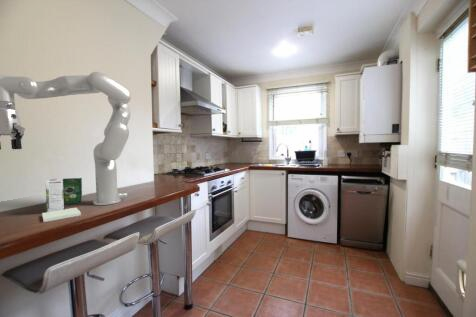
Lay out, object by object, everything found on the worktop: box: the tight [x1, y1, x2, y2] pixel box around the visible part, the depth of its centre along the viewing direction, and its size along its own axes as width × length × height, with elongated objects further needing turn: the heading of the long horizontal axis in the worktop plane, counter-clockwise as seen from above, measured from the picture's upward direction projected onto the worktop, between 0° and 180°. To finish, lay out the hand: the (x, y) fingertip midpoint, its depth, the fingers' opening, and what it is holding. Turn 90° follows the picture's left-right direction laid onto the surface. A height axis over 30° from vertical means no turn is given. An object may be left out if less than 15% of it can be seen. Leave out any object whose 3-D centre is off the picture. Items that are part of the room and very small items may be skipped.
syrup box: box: [45, 178, 65, 212], centre depth 101 cm, size 6×6×14 cm
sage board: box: [41, 207, 82, 223], centre depth 94 cm, size 12×11×1 cm
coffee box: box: [62, 177, 83, 205], centre depth 115 cm, size 8×3×13 cm, turn 117°
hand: (6, 149), depth 89 cm, fingers open, 9 cm apart
